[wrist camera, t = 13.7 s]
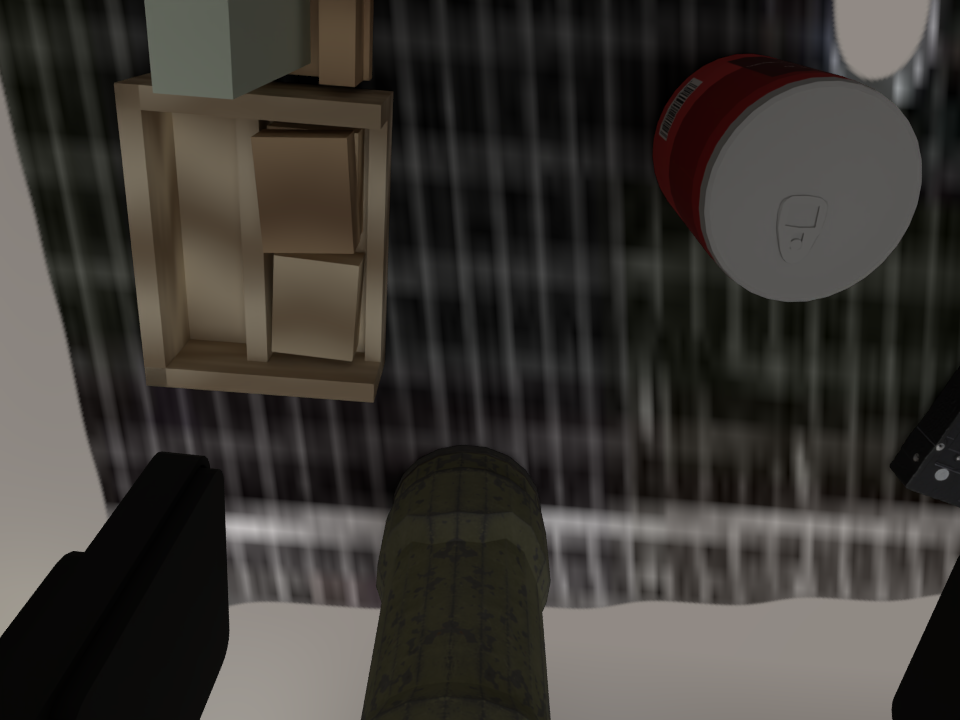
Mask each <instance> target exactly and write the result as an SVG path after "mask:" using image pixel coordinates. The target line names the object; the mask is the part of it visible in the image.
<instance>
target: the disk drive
mask: <svg viewBox="0 0 960 720" xmlns="http://www.w3.org/2000/svg"><path fill="white" fill-rule="evenodd" d="M890 468H891V469H892V471H893V472H894V473H895V474H896V476H897V477H898V478H899V480H900V481H901V482H902V483H903V484H904V486H905V487H906V488H907V489H910V490H912V491H915V492H918V493H920V494H923V495H927V496H930V497H932V498H935V499H939V500H941V501H944V502H947V503H949V504H952V505H955V506H957V507H960V366H959V368H958V370H957V371H956V372H955V374H954V375H953V376H952V378H951V379H950V381H949V382H948V384H947V385H946V387H945V388H944V389H943V391H942V392H941V394H940V395H939V396H938V398H937V399H936V401H935V402H934V403H933V405H932V406H931V408H930V409H929V411H928V412H927V413H926V415H925V416H924V417H923V419H922V420H921V422H920V423H919V425H918V426H917V427H916V428H915V429H914V430H913V432H912V433H911V434H910V436H909V437H908V439H907V440H906V442H905V443H904V444H903V446H902V447H901V450H900V451H899V453H898V454H897V456H896V457H895V459H894V460H893V461H892V462H891V464H890Z"/></svg>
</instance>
